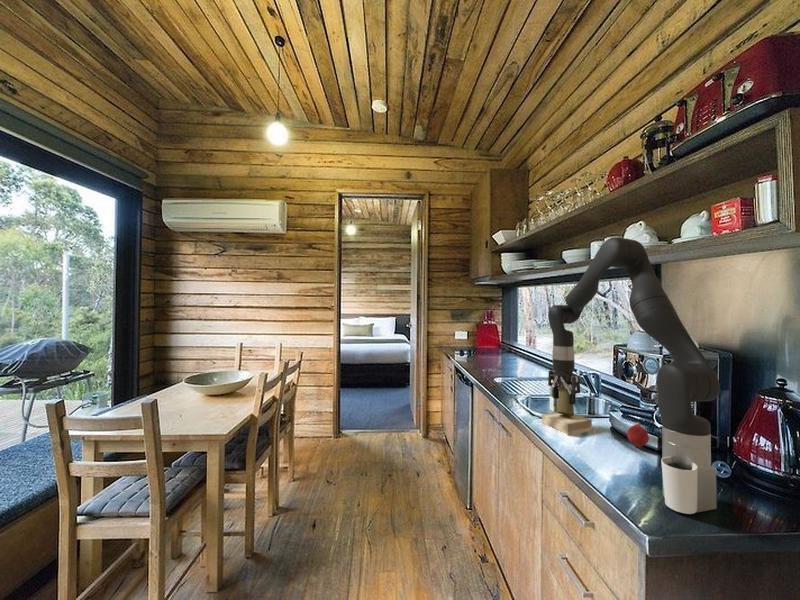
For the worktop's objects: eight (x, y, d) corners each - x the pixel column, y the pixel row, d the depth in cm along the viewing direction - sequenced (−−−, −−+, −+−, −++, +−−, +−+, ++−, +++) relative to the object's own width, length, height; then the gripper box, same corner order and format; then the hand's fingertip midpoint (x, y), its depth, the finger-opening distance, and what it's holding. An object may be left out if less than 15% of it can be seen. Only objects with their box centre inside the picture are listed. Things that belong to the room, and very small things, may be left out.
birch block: (591, 433, 128) (591, 419, 128) (567, 438, 124) (567, 424, 124) (564, 423, 139) (564, 410, 139) (541, 427, 134) (541, 414, 135)
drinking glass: (655, 501, 84) (654, 460, 83) (675, 495, 86) (673, 454, 85) (686, 518, 77) (684, 473, 77) (706, 510, 79) (704, 466, 79)
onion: (644, 452, 110) (644, 426, 110) (624, 446, 115) (624, 422, 115) (651, 448, 114) (651, 423, 114) (631, 442, 118) (631, 418, 119)
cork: (569, 416, 134) (570, 387, 138) (577, 414, 128) (577, 385, 133) (553, 412, 134) (555, 384, 139) (560, 411, 129) (561, 381, 133)
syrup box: (549, 412, 152) (548, 379, 152) (562, 412, 152) (562, 379, 152) (554, 416, 146) (554, 381, 146) (568, 417, 146) (568, 382, 146)
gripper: (586, 360, 126) (586, 405, 126) (558, 355, 140) (558, 396, 140) (568, 361, 124) (568, 407, 124) (542, 355, 138) (542, 397, 138)
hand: (563, 401), depth 132 cm, fingers open, 8 cm apart
